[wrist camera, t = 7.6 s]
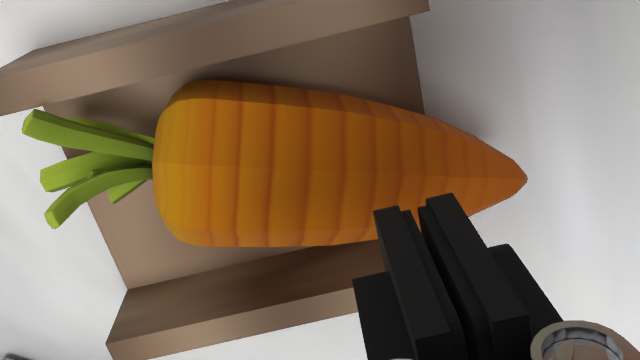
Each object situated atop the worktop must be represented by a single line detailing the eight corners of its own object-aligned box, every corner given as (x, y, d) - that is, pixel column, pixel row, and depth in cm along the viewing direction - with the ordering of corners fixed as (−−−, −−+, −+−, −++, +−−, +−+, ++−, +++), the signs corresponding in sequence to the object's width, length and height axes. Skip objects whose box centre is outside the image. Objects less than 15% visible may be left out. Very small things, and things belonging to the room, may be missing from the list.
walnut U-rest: (394, -40, 18) (423, -29, 14) (437, 226, 22) (468, 286, 18) (32, 50, 18) (-28, 83, 15) (142, 294, 23) (116, 366, 19)
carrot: (574, 91, 15) (-10, 52, 14) (562, 273, 16) (-15, 255, 14) (497, 107, 20) (61, 79, 19) (488, 244, 21) (56, 229, 19)
